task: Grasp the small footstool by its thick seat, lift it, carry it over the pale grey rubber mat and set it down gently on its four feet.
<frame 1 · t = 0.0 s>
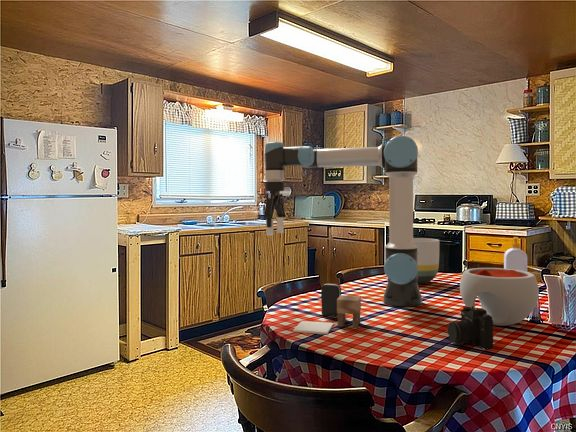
hand: (275, 234, 184), 28 cm above the table, fingers open, 13 cm apart
stool: (349, 324, 153), on the table
pot: (497, 322, 154), on the table
mat: (313, 328, 150), on the table
planter: (418, 283, 225), on the table
soap bottle: (515, 285, 217), on the table
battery: (331, 315, 166), on the table
camera: (467, 343, 134), on the table
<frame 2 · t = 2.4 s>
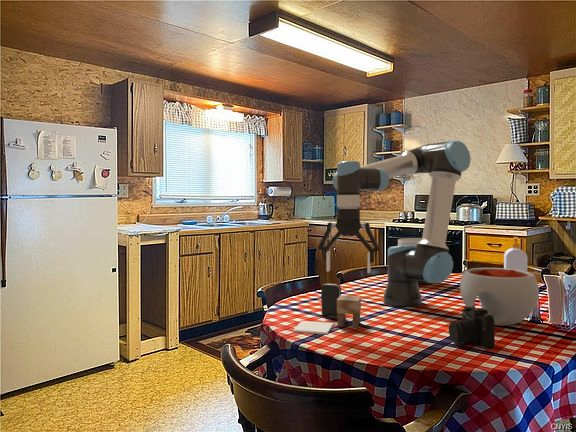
hand: (348, 271, 153), 18 cm above the table, fingers open, 13 cm apart
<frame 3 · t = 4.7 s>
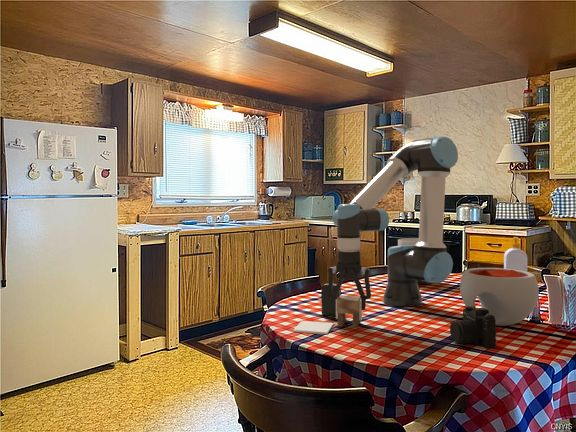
hand: (349, 318, 153), 2 cm above the table, fingers closed on stool, 7 cm apart
stool: (349, 324, 153), on the table, touching gripper
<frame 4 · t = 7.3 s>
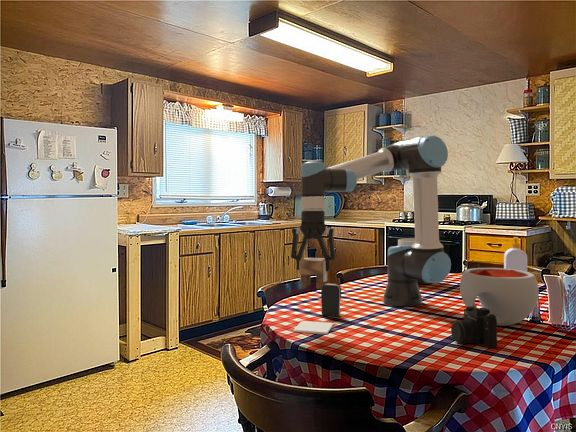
hand: (313, 280, 149), 16 cm above the table, fingers closed on stool, 7 cm apart
stool: (313, 286, 149), point 14 cm above the table, touching gripper
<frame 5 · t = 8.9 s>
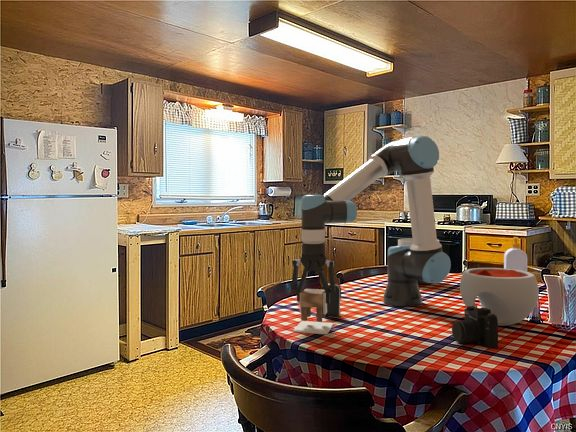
hand: (313, 312, 149), 5 cm above the table, fingers closed on stool, 7 cm apart
stool: (313, 318, 149), point 3 cm above the table, touching gripper
when the fingers open (4 cm above the table, at t = 10.1 s): stool stays where it is, resting on mat.
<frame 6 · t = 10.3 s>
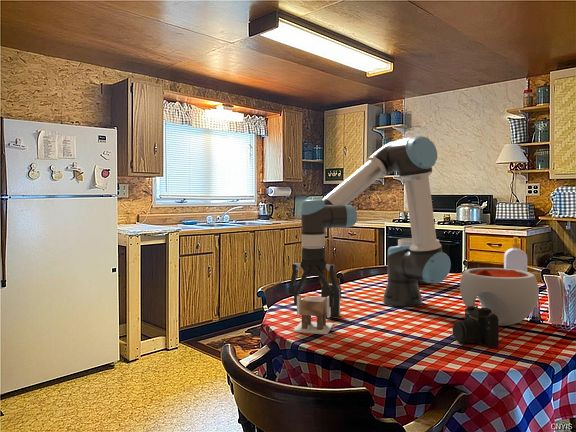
hand: (313, 315, 149), 4 cm above the table, fingers open, 9 cm apart
stool: (314, 326, 150), point 1 cm above the table, touching mat
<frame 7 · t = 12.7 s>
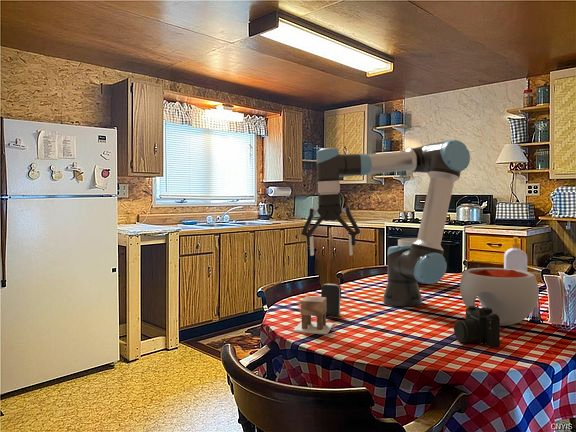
hand: (331, 255, 159), 23 cm above the table, fingers open, 13 cm apart
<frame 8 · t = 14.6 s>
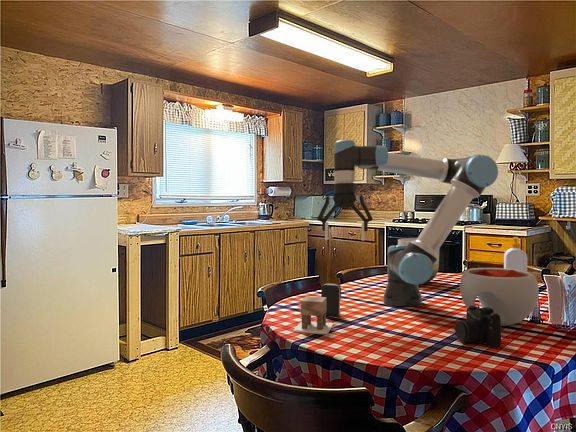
hand: (344, 240, 170), 27 cm above the table, fingers open, 13 cm apart
at the end: stool inside the target area on the mat (0.0 cm from its centre), point 0.6 cm above the mat's base; stool tilted 0°; the gripper is holding nothing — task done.
